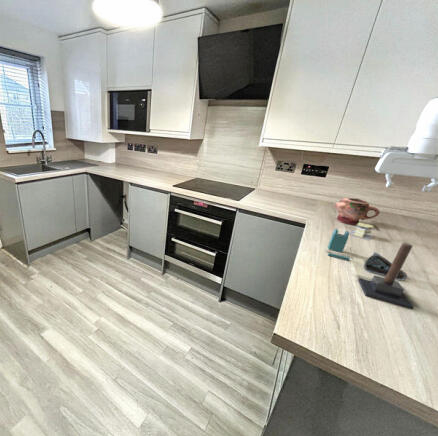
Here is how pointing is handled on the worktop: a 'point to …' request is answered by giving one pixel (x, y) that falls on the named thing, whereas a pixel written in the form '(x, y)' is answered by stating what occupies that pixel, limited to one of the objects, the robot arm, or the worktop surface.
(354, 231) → the stacked layers on plate
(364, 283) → the mat
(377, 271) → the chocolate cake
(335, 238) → the rest
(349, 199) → the pink floral mug
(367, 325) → the worktop surface
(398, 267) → the mallet
